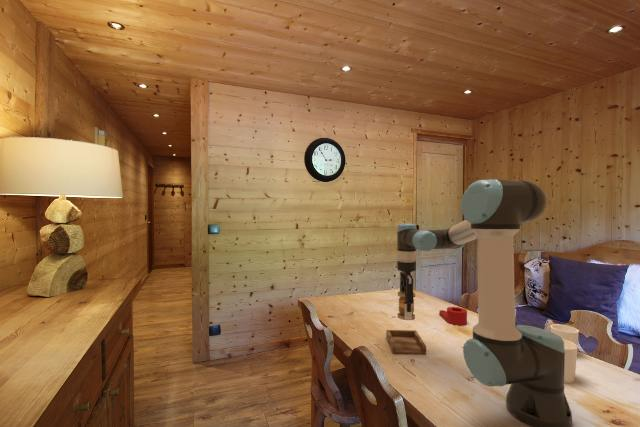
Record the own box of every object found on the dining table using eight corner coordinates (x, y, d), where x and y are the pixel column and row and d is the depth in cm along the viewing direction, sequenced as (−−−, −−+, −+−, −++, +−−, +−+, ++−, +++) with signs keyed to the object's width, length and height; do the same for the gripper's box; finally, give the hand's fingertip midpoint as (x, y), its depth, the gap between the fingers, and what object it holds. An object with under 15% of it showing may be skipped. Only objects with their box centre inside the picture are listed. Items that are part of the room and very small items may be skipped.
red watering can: (471, 325, 158) (471, 311, 158) (454, 326, 156) (454, 313, 156) (448, 313, 175) (448, 301, 175) (433, 315, 173) (433, 302, 173)
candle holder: (542, 367, 116) (543, 334, 115) (577, 376, 109) (577, 342, 109) (540, 378, 108) (540, 343, 108) (577, 389, 102) (577, 352, 102)
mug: (566, 360, 121) (567, 333, 121) (544, 350, 130) (544, 325, 129) (588, 357, 124) (588, 330, 124) (565, 347, 132) (565, 322, 132)
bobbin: (416, 320, 128) (417, 295, 128) (399, 320, 128) (399, 295, 128) (412, 314, 135) (412, 291, 135) (396, 314, 135) (396, 290, 135)
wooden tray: (426, 354, 126) (426, 346, 126) (392, 354, 126) (392, 345, 126) (415, 338, 142) (415, 330, 142) (386, 337, 142) (386, 329, 142)
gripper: (422, 265, 121) (421, 325, 122) (410, 257, 141) (409, 308, 142) (402, 265, 122) (401, 324, 122) (393, 257, 141) (392, 308, 142)
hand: (406, 315), depth 132 cm, fingers closed on bobbin, 7 cm apart
